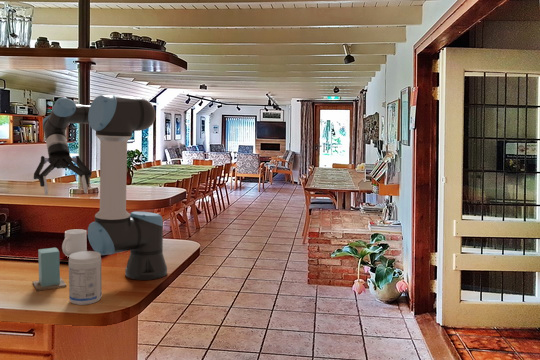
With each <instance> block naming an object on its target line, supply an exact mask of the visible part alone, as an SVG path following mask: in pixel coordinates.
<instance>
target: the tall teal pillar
mask: <svg viewBox="0 0 540 360" xmlns="http://www.w3.org/2000/svg"><path fill="white" fill-rule="evenodd" d="M37 251H38V254H37V255H38V260H37V261H38V281H39V283H40V285H41V286H42V287H44V286H51V285H57V284H60V277H61V275H60V273H61V271H60V270H61V269H60V268H61V267H60V261H61V260H60V251H59V249H58V248H57V247H49V248H40V249H38V250H37Z"/></svg>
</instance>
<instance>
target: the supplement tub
mask: <svg viewBox="0 0 540 360" xmlns="http://www.w3.org/2000/svg"><path fill="white" fill-rule="evenodd" d="M101 256H102V255H101V254H100V253H99V252H95V251H94V250H87V251H81V252H76V253H73V254H71V255H70V256H69V258H68V284H69V285H68V290H69V291H68V292H69V293H68V294H69V296H68V297H69V302H70V303H71V304H74V305H78V306H84V305H85V306H88V305H91V304H96V303H97V302H99V301H100V300H101V299H102V295H103V294H102V293H103V292H102V291H103V290H102V286H103V285H102V257H101Z"/></svg>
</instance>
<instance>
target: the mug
mask: <svg viewBox="0 0 540 360" xmlns="http://www.w3.org/2000/svg"><path fill="white" fill-rule="evenodd" d="M87 239H88V236H87V229H81V228H78V229H77V228H76V229H68V230H65V231H64V240H63V241H62V245H61V249H62V253H63V254H64V255H65V257H66V256H67V258H68V257H69V256H70V255H71V254H73V253H76V252H81V251H88V249H87V247H88V246H87Z"/></svg>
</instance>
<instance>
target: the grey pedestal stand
mask: <svg viewBox="0 0 540 360" xmlns="http://www.w3.org/2000/svg"><path fill="white" fill-rule="evenodd" d="M32 284H33V286H34V288H35V290H36V292H39V291H45V290H52V289H59V288H65V287H67V283H66V282H65V281H64V280H63V278H62V276H60V284H57V285H51V286H44V287H42V286H41V285H40V283H39V280H33V281H32Z"/></svg>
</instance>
